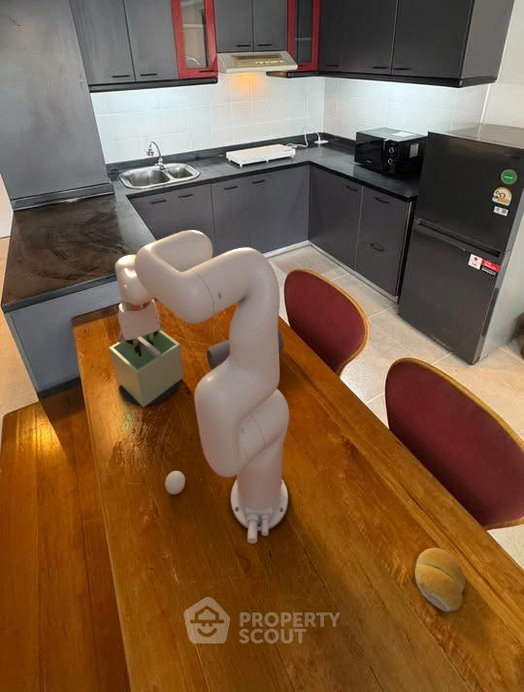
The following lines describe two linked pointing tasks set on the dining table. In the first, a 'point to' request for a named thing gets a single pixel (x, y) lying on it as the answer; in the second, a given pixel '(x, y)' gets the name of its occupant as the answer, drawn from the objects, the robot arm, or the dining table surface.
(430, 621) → the dining table surface
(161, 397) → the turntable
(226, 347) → the bluetooth speaker
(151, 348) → the bin
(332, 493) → the dining table surface
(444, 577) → the bread roll
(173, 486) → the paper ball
